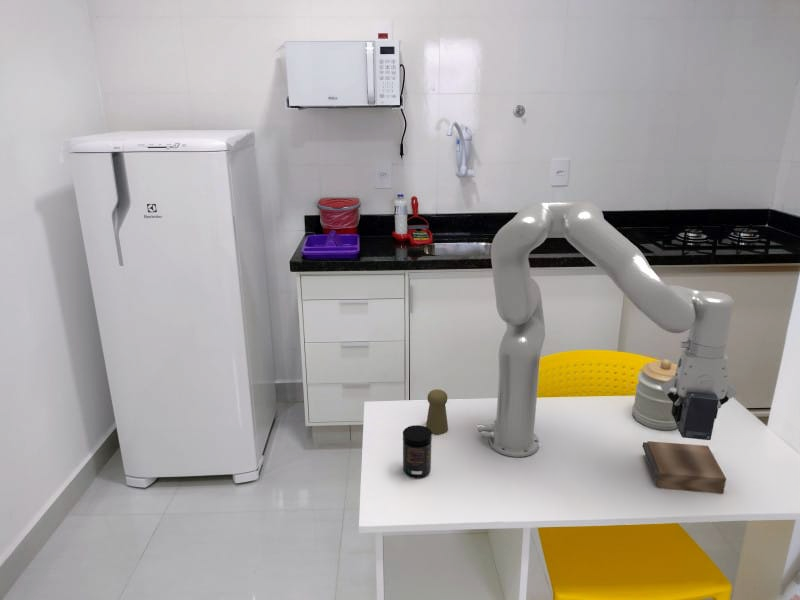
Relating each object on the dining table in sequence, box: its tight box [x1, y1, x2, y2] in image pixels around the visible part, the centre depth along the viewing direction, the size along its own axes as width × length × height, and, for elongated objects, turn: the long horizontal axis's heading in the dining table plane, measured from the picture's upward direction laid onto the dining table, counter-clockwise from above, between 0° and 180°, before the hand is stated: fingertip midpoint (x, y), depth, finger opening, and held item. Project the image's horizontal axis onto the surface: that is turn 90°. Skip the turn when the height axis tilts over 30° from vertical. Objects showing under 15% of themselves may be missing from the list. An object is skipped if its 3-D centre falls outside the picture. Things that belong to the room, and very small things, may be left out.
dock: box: [641, 440, 727, 494], centre depth 146 cm, size 15×13×4 cm
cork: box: [425, 389, 449, 436], centre depth 163 cm, size 6×6×11 cm
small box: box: [673, 392, 719, 441], centre depth 141 cm, size 11×6×10 cm, turn 169°
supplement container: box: [402, 424, 433, 479], centre depth 146 cm, size 7×7×10 cm
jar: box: [632, 358, 678, 431], centre depth 167 cm, size 13×13×18 cm
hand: (693, 419), depth 142 cm, fingers closed on small box, 6 cm apart
